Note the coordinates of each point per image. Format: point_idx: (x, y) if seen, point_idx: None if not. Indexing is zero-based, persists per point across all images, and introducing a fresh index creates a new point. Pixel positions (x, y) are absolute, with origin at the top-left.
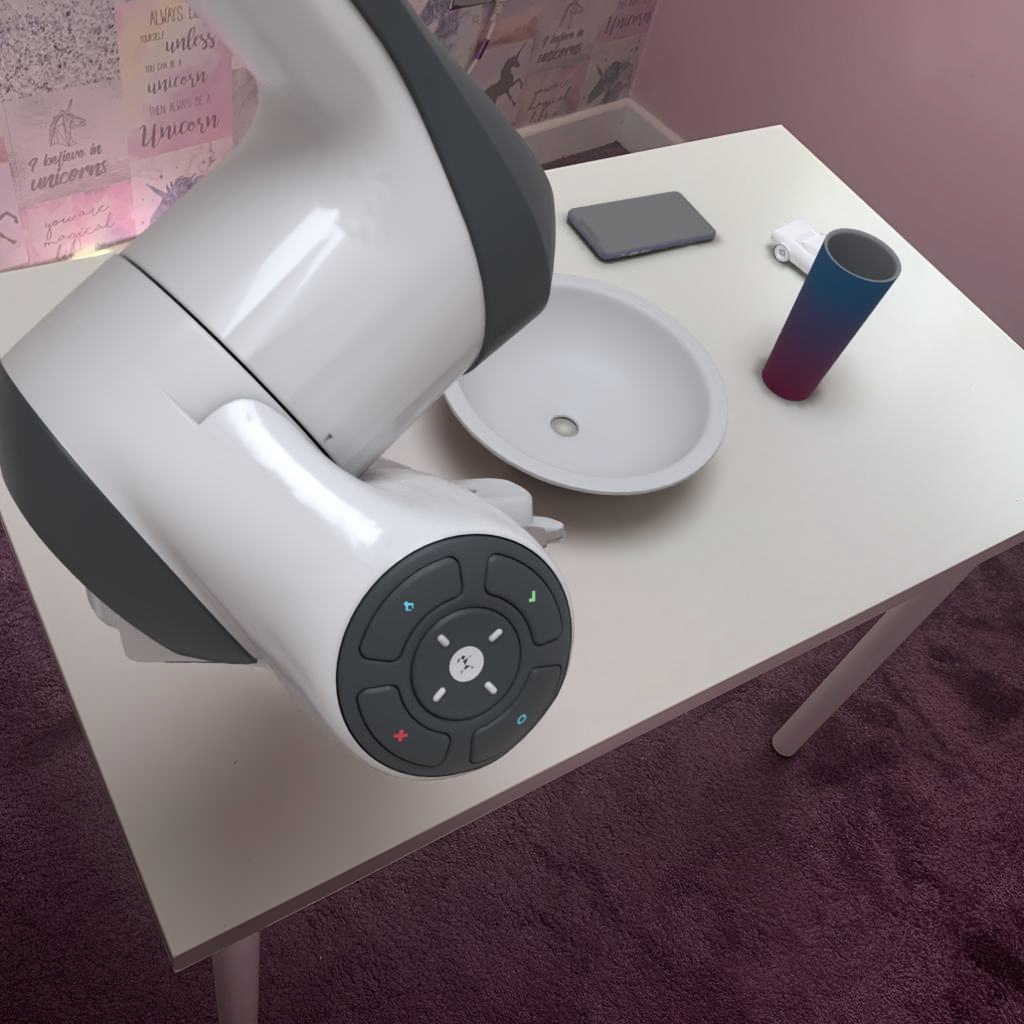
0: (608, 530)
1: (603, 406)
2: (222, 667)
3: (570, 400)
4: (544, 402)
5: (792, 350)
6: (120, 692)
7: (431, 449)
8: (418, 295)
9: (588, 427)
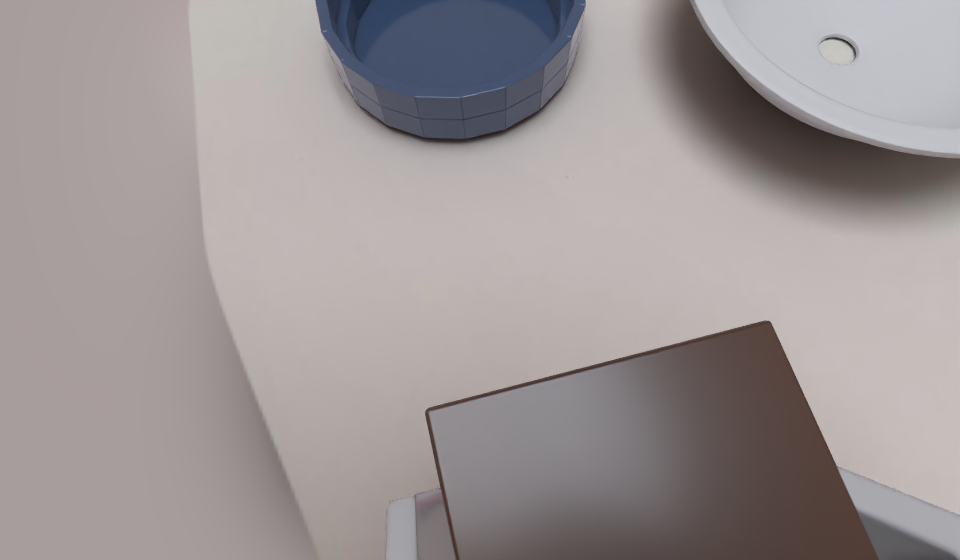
0: (925, 189)
1: (889, 13)
2: None
3: (842, 12)
4: (808, 21)
5: None
6: (347, 500)
7: (672, 109)
8: None
9: (872, 46)
